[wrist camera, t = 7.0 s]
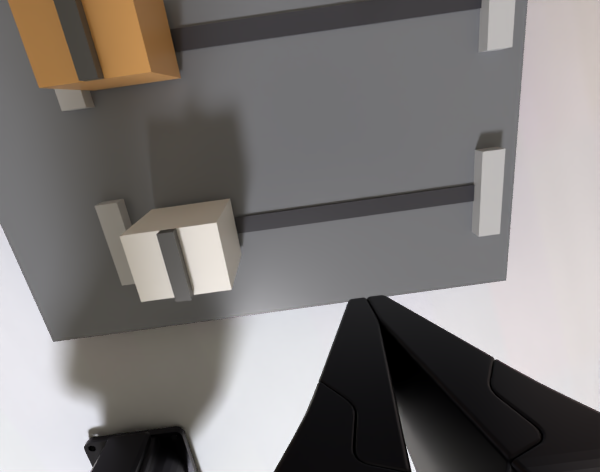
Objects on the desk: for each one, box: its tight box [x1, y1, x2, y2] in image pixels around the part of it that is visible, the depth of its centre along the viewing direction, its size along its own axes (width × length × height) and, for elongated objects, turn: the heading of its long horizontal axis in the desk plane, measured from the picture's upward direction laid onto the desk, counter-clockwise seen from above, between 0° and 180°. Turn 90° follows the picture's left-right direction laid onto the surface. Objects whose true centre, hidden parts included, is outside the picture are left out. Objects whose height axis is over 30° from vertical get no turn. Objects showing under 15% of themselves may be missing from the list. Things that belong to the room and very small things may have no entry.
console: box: [0, 0, 528, 342], centre depth 17 cm, size 18×24×3 cm
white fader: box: [120, 199, 242, 302], centre depth 15 cm, size 3×4×4 cm
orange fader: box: [8, 0, 181, 91], centre depth 12 cm, size 3×4×4 cm
